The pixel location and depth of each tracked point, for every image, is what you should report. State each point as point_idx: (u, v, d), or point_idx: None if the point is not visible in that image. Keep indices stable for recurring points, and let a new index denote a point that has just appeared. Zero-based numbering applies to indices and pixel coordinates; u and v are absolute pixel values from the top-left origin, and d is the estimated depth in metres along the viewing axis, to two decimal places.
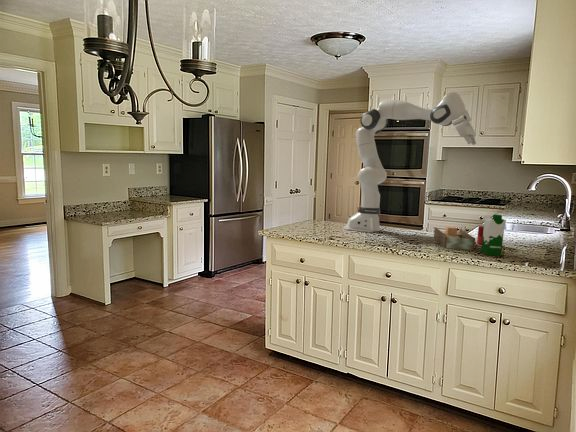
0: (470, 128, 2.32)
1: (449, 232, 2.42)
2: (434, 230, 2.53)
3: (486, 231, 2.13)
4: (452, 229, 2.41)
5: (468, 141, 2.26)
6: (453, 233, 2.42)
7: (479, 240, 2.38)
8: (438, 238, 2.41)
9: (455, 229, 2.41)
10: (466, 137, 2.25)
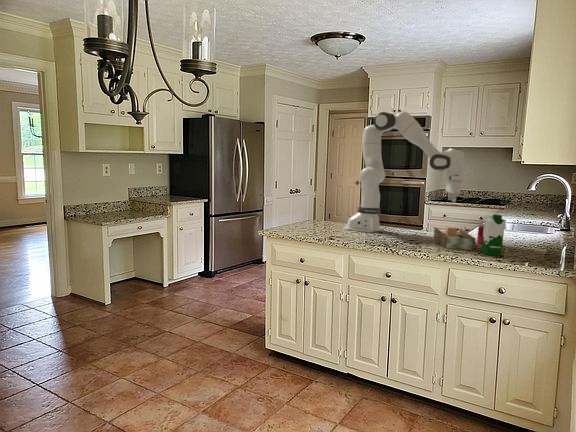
0: None
1: (449, 232, 2.42)
2: (434, 230, 2.53)
3: (486, 231, 2.13)
4: (452, 229, 2.41)
5: (454, 199, 2.43)
6: (453, 233, 2.42)
7: (479, 240, 2.38)
8: (438, 238, 2.41)
9: (455, 229, 2.41)
10: (455, 196, 2.42)
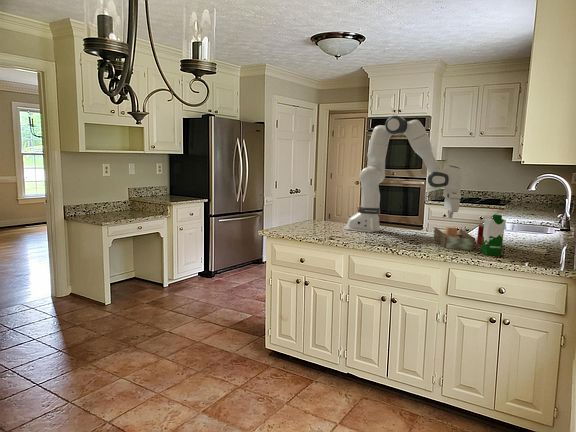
0: None
1: (449, 232, 2.42)
2: (434, 230, 2.53)
3: (486, 231, 2.13)
4: (452, 229, 2.41)
5: (450, 216, 2.49)
6: (453, 233, 2.42)
7: (479, 240, 2.38)
8: (438, 238, 2.41)
9: (455, 229, 2.41)
10: (451, 212, 2.48)
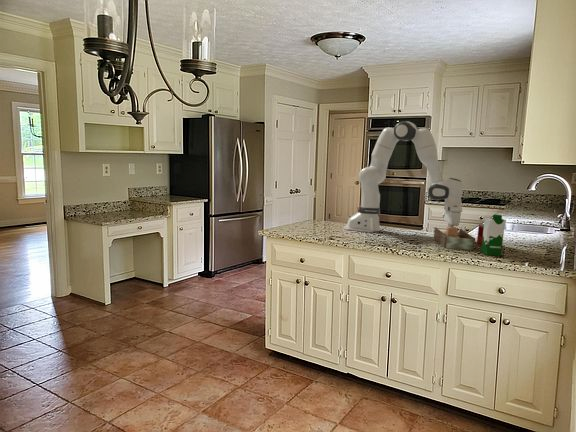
0: None
1: (450, 232, 2.41)
2: (434, 230, 2.53)
3: (486, 231, 2.13)
4: (453, 229, 2.40)
5: None
6: (454, 233, 2.41)
7: (479, 240, 2.38)
8: (438, 238, 2.41)
9: (456, 229, 2.40)
10: (451, 225, 2.45)
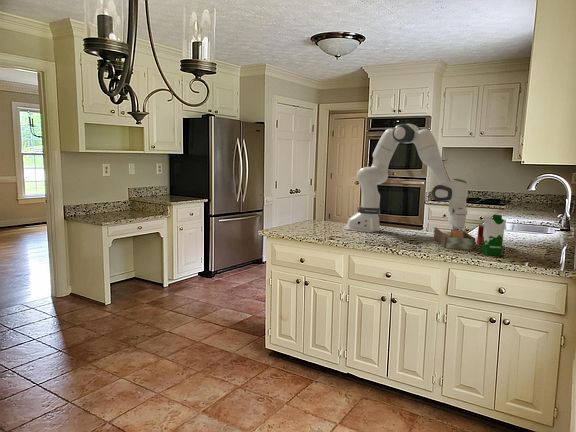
0: None
1: (454, 236, 2.31)
2: (434, 230, 2.53)
3: (486, 231, 2.13)
4: (457, 232, 2.31)
5: None
6: (458, 237, 2.31)
7: (479, 240, 2.38)
8: (438, 238, 2.41)
9: (461, 233, 2.30)
10: (456, 228, 2.35)
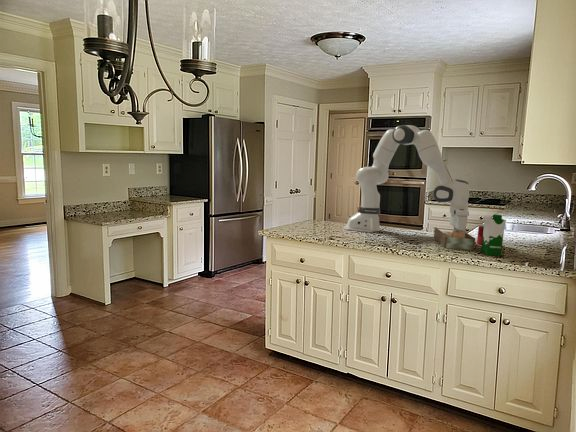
0: None
1: (456, 237, 2.27)
2: (434, 230, 2.53)
3: (486, 231, 2.13)
4: (459, 233, 2.27)
5: None
6: None
7: (479, 240, 2.38)
8: (438, 238, 2.41)
9: (462, 234, 2.27)
10: (457, 230, 2.31)
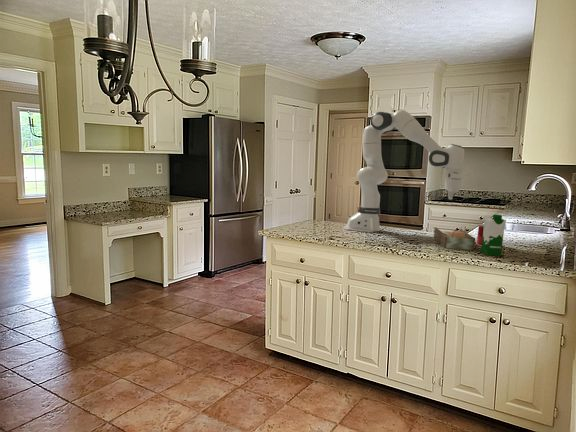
0: None
1: (456, 237, 2.27)
2: (434, 230, 2.53)
3: (486, 231, 2.13)
4: (459, 233, 2.27)
5: (450, 197, 2.40)
6: None
7: (479, 240, 2.38)
8: (438, 238, 2.41)
9: (462, 234, 2.27)
10: (451, 193, 2.38)
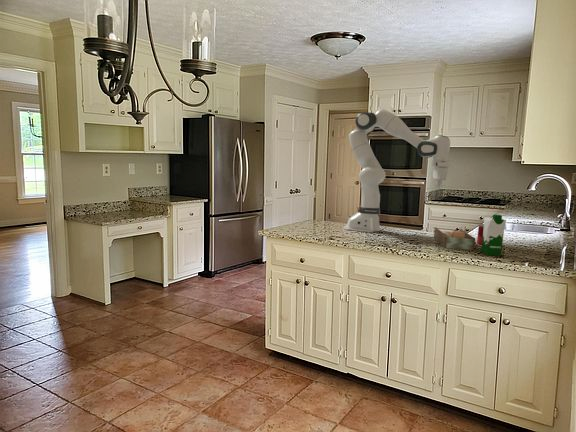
0: None
1: (456, 237, 2.27)
2: (434, 230, 2.53)
3: (486, 231, 2.13)
4: (459, 233, 2.27)
5: (438, 185, 2.54)
6: None
7: (479, 240, 2.38)
8: (438, 238, 2.41)
9: (462, 234, 2.27)
10: (439, 181, 2.53)
